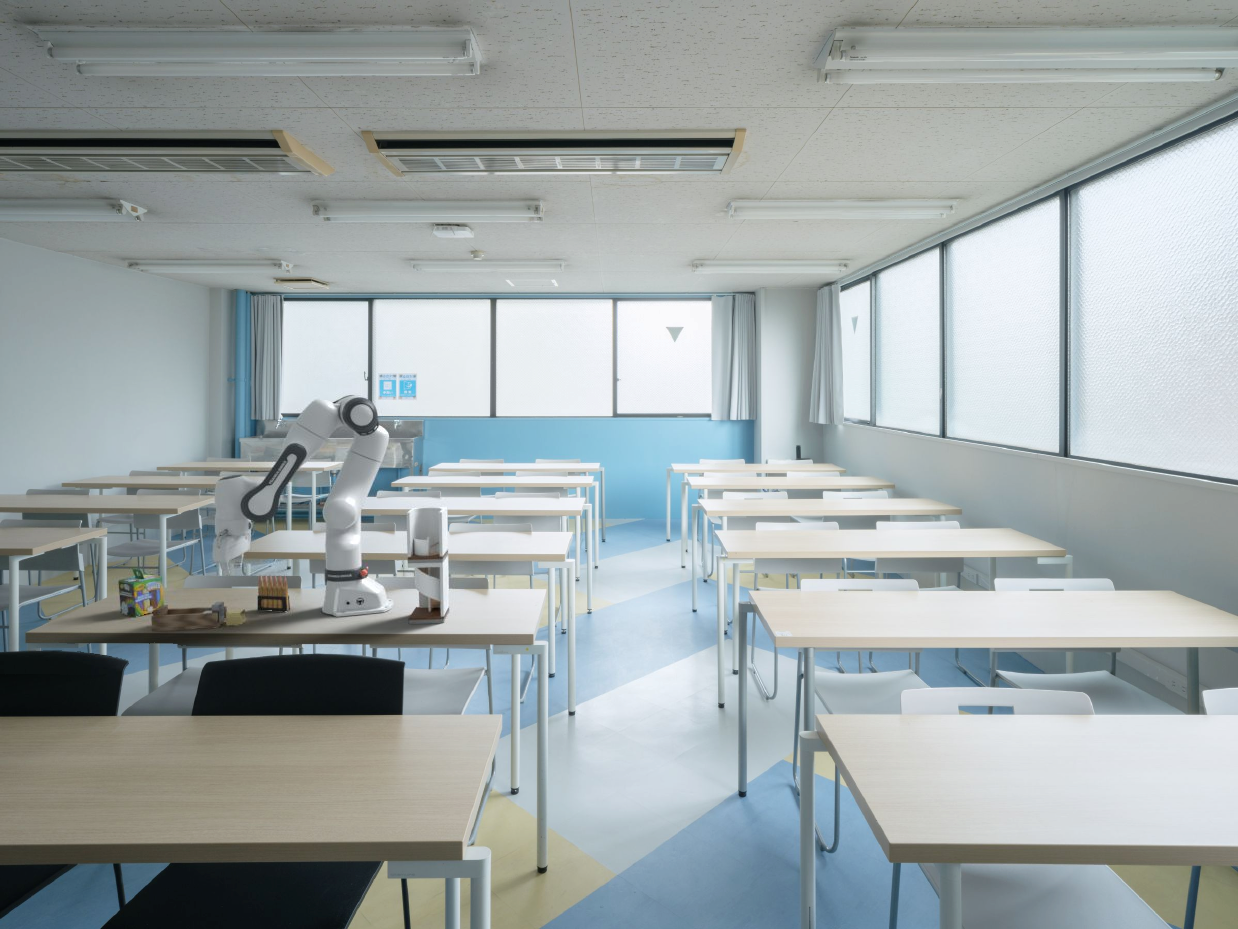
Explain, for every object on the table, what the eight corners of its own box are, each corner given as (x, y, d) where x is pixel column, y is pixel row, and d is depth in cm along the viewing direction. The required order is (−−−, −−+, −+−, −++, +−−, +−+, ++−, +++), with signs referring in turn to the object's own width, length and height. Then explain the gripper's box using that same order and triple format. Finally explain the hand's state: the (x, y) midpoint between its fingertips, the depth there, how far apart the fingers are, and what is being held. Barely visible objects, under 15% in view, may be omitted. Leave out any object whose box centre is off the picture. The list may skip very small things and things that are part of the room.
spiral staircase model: (416, 613, 223) (413, 507, 221) (449, 612, 224) (447, 507, 222) (409, 623, 212) (406, 512, 209) (443, 622, 213) (441, 512, 210)
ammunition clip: (290, 610, 226) (289, 575, 225) (286, 612, 225) (285, 576, 224) (261, 609, 228) (259, 573, 227) (257, 610, 226) (255, 575, 225)
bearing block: (227, 620, 216) (226, 601, 215) (216, 628, 208) (216, 608, 207) (165, 623, 213) (164, 604, 212) (152, 631, 205) (150, 611, 204)
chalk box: (165, 610, 226) (162, 566, 225) (135, 618, 218) (132, 572, 217) (149, 606, 230) (147, 563, 229) (119, 614, 222) (116, 569, 221)
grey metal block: (224, 618, 213) (223, 601, 213) (219, 622, 210) (218, 605, 209) (207, 619, 213) (206, 602, 212) (201, 623, 209) (200, 605, 208)
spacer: (245, 621, 215) (244, 609, 214) (240, 625, 211) (240, 612, 210) (231, 622, 214) (231, 609, 214) (226, 626, 210) (226, 613, 210)
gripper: (229, 533, 201) (229, 579, 202) (254, 522, 221) (254, 564, 222) (205, 533, 200) (206, 579, 200) (233, 522, 220) (233, 564, 221)
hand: (232, 571), depth 211 cm, fingers open, 8 cm apart
